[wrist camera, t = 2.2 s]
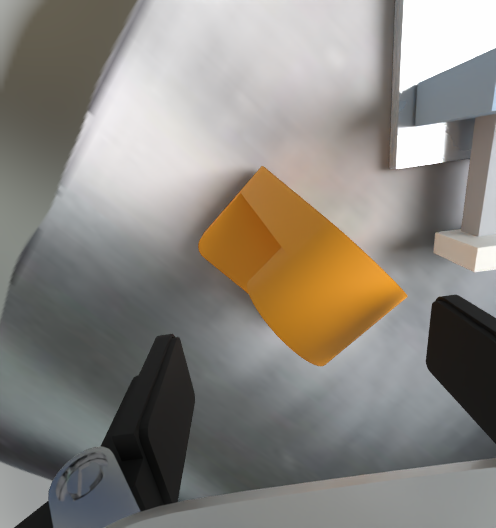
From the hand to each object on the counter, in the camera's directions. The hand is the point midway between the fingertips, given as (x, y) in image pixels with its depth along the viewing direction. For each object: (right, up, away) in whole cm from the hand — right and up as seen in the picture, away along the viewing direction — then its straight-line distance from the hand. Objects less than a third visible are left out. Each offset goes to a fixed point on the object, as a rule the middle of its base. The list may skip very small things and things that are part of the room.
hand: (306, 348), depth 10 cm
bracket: (0, +4, +12) cm, 13 cm away
